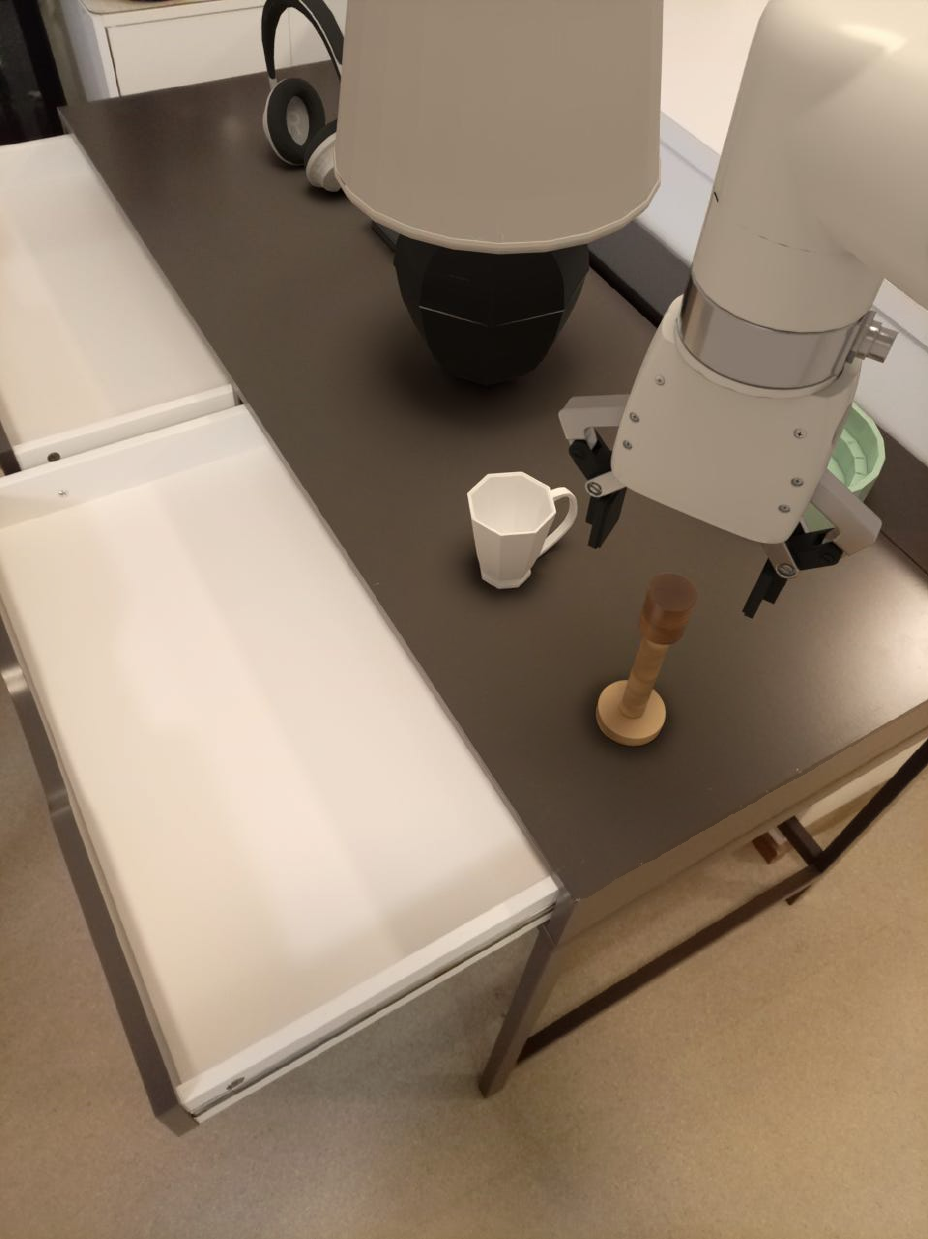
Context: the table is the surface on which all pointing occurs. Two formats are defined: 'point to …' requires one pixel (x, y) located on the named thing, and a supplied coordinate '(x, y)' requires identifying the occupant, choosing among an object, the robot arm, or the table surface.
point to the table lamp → (498, 158)
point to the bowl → (853, 462)
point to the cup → (514, 524)
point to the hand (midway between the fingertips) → (677, 565)
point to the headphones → (301, 97)
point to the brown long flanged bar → (647, 663)
